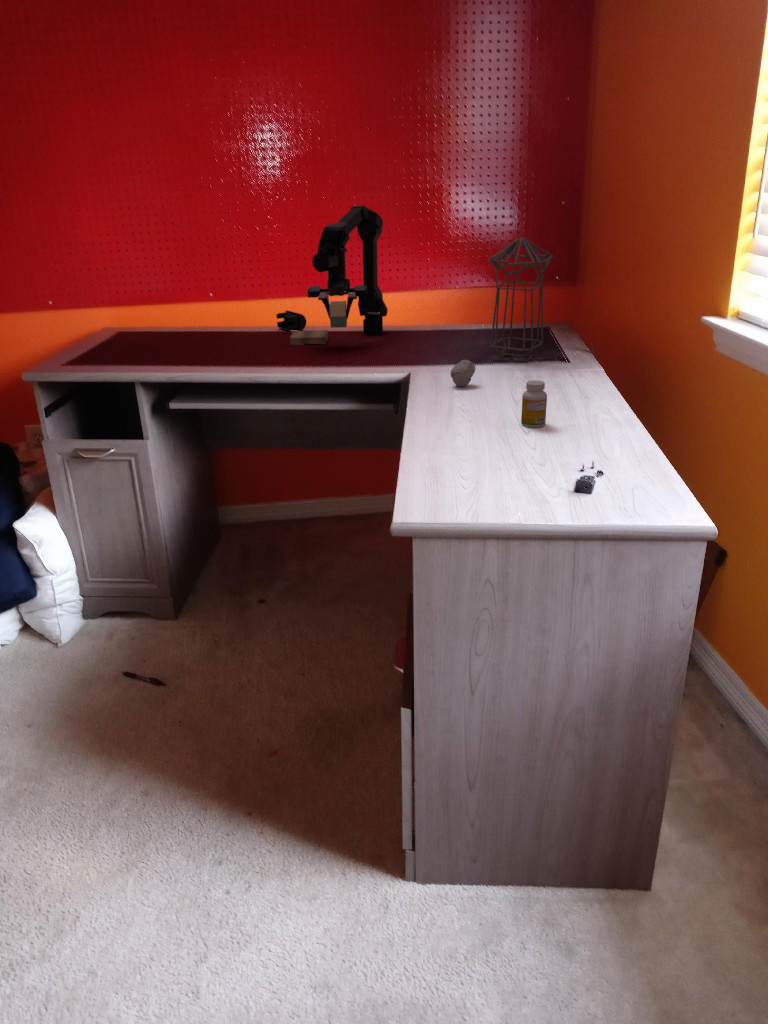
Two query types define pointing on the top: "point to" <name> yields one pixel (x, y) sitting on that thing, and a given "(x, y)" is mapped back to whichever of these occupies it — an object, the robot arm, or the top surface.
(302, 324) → the end cap
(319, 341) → the walnut stand
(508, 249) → the geometric lantern
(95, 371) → the top surface
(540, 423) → the supplement bottle
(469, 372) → the grey rock
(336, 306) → the block
